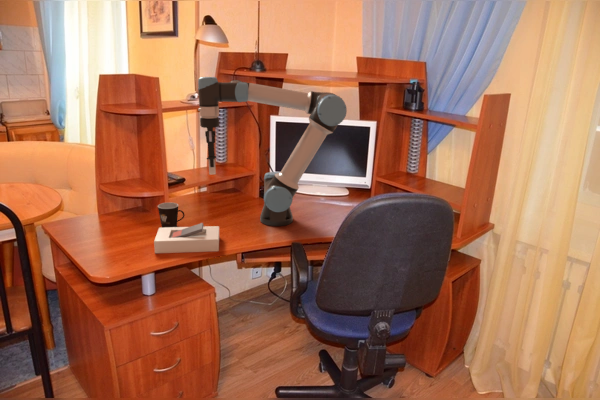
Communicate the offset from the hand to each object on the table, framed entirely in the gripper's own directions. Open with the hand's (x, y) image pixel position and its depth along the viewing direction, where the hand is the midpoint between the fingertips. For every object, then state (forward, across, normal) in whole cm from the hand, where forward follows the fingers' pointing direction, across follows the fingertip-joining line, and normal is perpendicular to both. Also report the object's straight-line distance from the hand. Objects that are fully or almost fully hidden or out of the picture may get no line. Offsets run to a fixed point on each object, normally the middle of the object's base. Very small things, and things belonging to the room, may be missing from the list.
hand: (212, 174), depth 184 cm
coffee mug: (+25, -6, -19) cm, 32 cm away
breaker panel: (+25, +14, -11) cm, 31 cm away
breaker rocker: (+20, +14, -10) cm, 27 cm away
